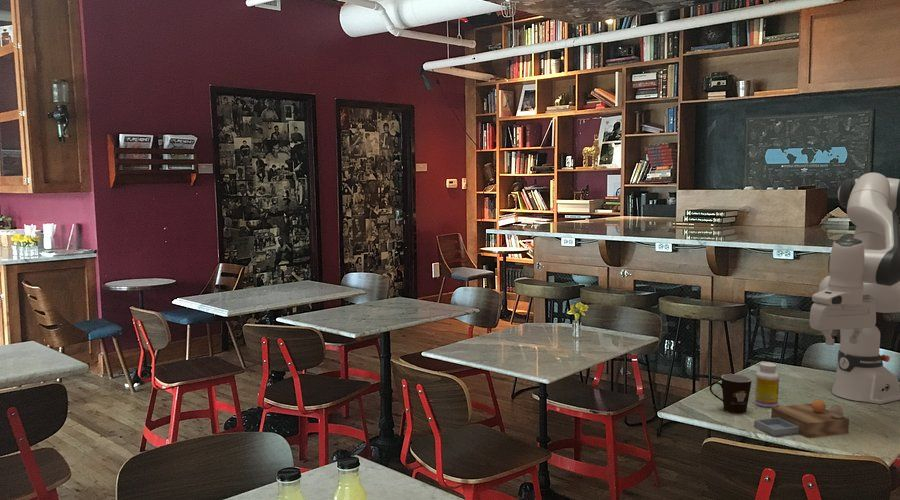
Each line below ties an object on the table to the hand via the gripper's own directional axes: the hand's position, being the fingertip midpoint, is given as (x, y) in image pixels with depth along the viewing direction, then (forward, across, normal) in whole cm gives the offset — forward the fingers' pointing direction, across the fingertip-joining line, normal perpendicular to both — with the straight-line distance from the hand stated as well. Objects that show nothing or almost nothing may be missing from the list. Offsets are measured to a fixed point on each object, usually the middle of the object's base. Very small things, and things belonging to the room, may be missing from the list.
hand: (841, 344), depth 208 cm
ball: (+18, +7, 0) cm, 19 cm away
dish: (+23, +21, 0) cm, 31 cm away
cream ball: (+18, +6, +6) cm, 19 cm away
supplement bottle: (+24, +8, -20) cm, 32 cm away
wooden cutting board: (+23, +10, 0) cm, 25 cm away
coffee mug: (+24, +22, -19) cm, 37 cm away
